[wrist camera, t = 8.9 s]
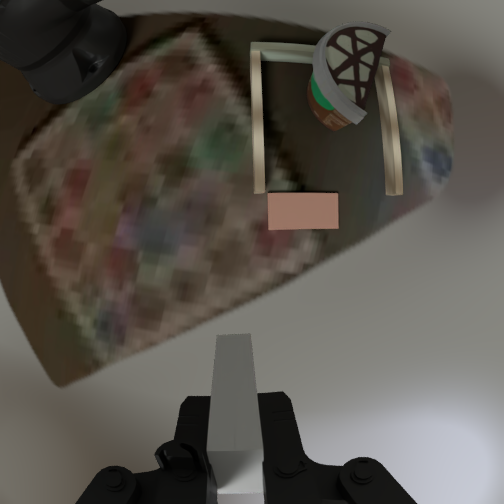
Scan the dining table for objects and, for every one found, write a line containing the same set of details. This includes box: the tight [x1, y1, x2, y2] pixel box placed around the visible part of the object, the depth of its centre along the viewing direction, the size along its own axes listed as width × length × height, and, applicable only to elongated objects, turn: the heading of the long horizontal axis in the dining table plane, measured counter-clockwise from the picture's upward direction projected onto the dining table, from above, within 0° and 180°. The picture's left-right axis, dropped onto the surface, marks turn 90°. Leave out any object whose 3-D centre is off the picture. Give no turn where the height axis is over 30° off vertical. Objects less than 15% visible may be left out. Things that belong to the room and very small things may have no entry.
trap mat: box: [268, 193, 338, 230], centre depth 32 cm, size 4×8×1 cm, turn 92°
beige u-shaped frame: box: [250, 42, 403, 195], centre depth 29 cm, size 18×17×3 cm
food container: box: [307, 22, 391, 132], centre depth 25 cm, size 12×6×10 cm, turn 158°
